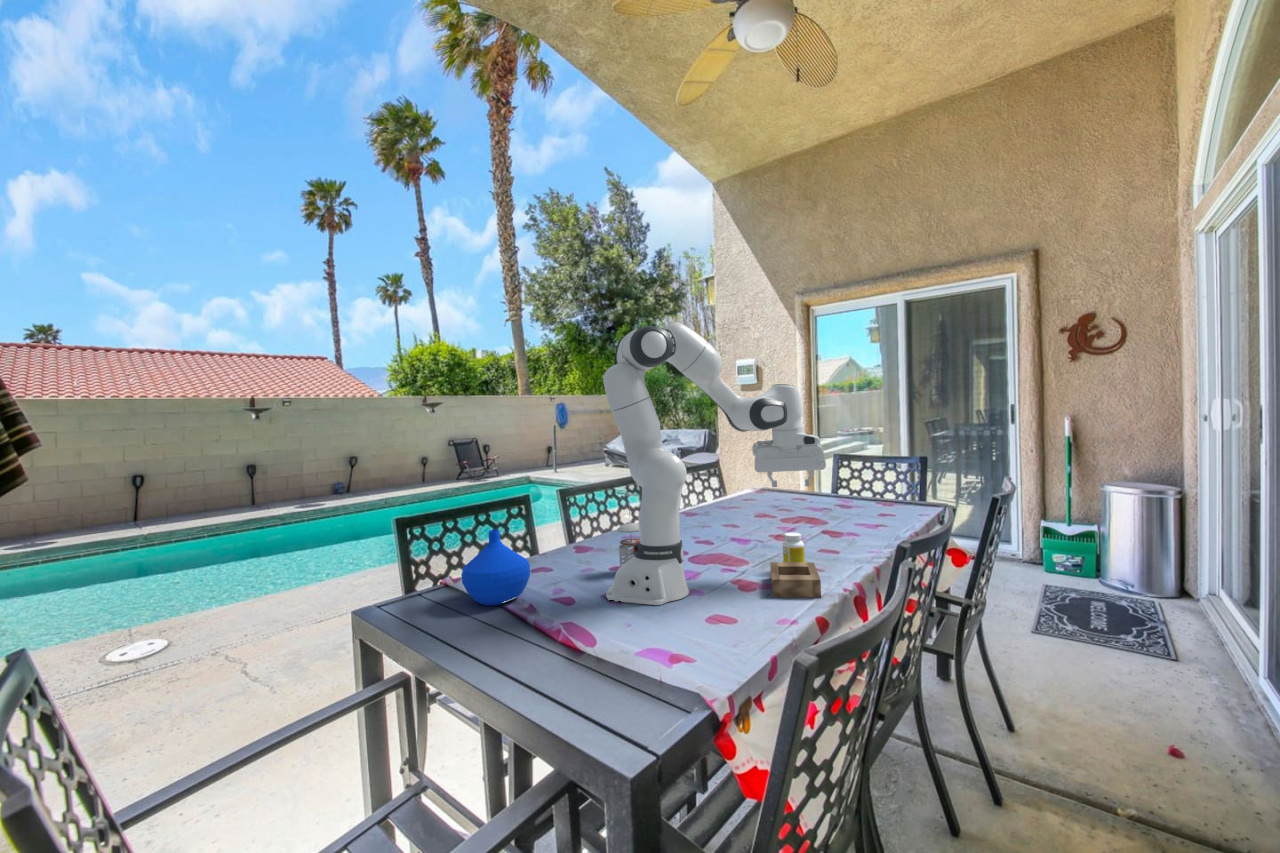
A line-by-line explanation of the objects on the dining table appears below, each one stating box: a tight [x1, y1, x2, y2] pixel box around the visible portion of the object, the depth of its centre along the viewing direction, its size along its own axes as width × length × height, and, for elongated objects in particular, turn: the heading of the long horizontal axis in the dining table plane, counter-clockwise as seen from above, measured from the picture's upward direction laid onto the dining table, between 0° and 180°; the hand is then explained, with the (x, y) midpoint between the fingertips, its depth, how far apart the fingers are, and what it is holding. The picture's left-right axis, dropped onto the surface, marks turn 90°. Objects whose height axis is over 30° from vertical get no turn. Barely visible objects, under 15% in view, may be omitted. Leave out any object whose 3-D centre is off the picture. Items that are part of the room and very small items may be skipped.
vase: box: [461, 529, 531, 606], centre depth 151 cm, size 18×18×19 cm
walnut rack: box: [769, 561, 822, 598], centre depth 148 cm, size 12×16×4 cm
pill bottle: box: [782, 532, 806, 563], centre depth 162 cm, size 6×6×11 cm
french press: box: [617, 491, 640, 568], centre depth 170 cm, size 10×12×25 cm
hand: (791, 486), depth 160 cm, fingers open, 8 cm apart
